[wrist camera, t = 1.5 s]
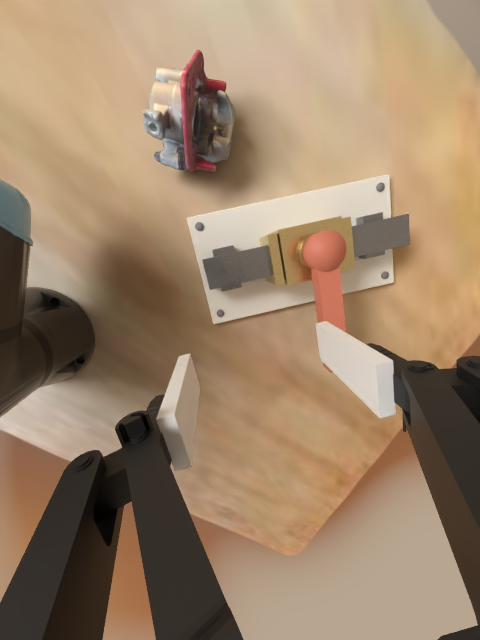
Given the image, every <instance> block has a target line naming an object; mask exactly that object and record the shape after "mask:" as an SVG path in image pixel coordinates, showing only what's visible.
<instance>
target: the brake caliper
mask: <svg viewBox="0 0 480 640" xmlns="http://www.w3.org/2000/svg"><path fill="white" fill-rule="evenodd" d="M156 79H157V80H158V81H157V82H155V83H154V84H153V86H152V88H151V92H150V99H149V106H150V109H145V110H144V111H143V112H142V114H143V115H144V116H145V118H144V128H145V130H146V132H147V133H148V134H150V135H151V136H153V137H155V138H157V139H160V140H163V146H164V150H163V151H160V152H156V153H155V154H154V158H155V159H156V160H157V161H159V162H160V163H161V164H163V165H165V166H170V167H172V168H175V169H178V170H185V171H188V172H193V171H196V170H205V171H208V172H215V171H216V165H215V164H214V163H218V162H219V161H221V160H227V159H228V158H229V157H230V152H231V140H232V132H233V127H234V122H235V116H236V113H235V110H234V107H233V105H232V104H231V102H230V100H229V97H228V96H227V94H226V93H225V90H226V83H225V82H224V81H219V80H212V79H208V78H207V77H206V75H205V72H204V59H203V54H202V52H201V51H200V50H197V51H196V52H195V54H194V55H193V57H192V58H191V60H190V62H189V63H188V64H187V65H186V67H185V68H184V70H179V69H174V68H163V67H159V68H157V70H156ZM213 162H214V163H213Z"/></svg>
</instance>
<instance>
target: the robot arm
mask: <svg viewBox="0 0 480 640" xmlns="http://www.w3.org/2000/svg"><path fill="white" fill-rule="evenodd" d="M30 232H31V208H30V205H29V202H28V201H27V199H26V198H25V196H24V195H23V194H22V193H21V192H20V191H19V190H17V189H16V188H14V187H13V186H11V185H10V184H8V183H6V182H4V181H3V180H1V179H0V417H1V416H2V415H4V414H5V413H6V412H8V411H9V410H10V409H11V408H13V407H14V406H15V405H17V404H18V403H19V402H21V401H22V400H23V399H25V398H26V397H27V396H28V395H30V394H31V393H32V392H34V391H35V390H36V389H38V388H39V387H43V386H46V385H50V384H53V383H56V382H60V381H63V380H66V379H68V378H70V377H72V376H74V375H75V374H77V373H78V372H79V371H81V370H82V369H83V368H84V367H85V366H86V365H87V363H88V362H89V360H90V359H91V357H92V354H93V351H94V346H95V336H94V331H93V327H92V325H91V322H90V320H89V318H88V317H87V315H86V314H85V312H84V311H83V310H82V309H81V308H80V307H79V306H78V305H77V304H76V303H75V302H74V301H72V300H71V299H70V298H68V297H66V296H65V295H63V294H61V293H58V292H56V291H53V290H50V289H45V288H38V287H28V288H26V286H27V276H28V266H29V255H30V246H33V241H32V239H31V238H30ZM316 332H317V339H318V346H319V353H320V360H321V361H322V362H323V363H324V364H325V365H326V366H327V367H328V368H329V369H330V370H331V371H333V372H334V373H335V374H336V375H337V376H338V377H339V378H340V379H341V380H342V381H343V382H344V383H345V384H346V385H347V386H348V387H349V388H350V389H351V390H352V391H353V392H354V393H355V394H356V395H357V396H358V397H359V398H360V399H361V400H362V401H363V402H364V403H365V404H366V405H367V406H368V407H369V408H370V409H371V410H372V411H373V412H374V413H375V414H376V415H377V416H378V417H379V418H384V417H387V416H391V415H395V414H396V408H395V403H396V404H397V405H399V406H400V407H401V408H402V410H403V431H405V432H406V428H407V430H408V433H409V435H410V438H411V441H412V443H413V446H414V449H415V451H416V454H417V457H418V459H419V462H420V465H421V468H422V471H423V473H424V476H425V479H426V481H427V484H428V487H429V489H430V492H431V495H432V498H433V500H434V503H435V505H436V508H437V511H438V514H439V517H440V519H441V522H442V525H443V527H444V530H445V533H446V535H447V538H448V541H449V543H450V546H451V549H452V552H453V554H454V557H455V560H456V562H457V565H458V568H459V571H460V573H461V576H462V579H463V581H464V584H465V587H466V589H467V592H468V595H469V598H470V600H471V603H472V606H473V609H474V612H475V615H476V619H477V623H478V626H474V627H471V628H467V629H464V630H461V631H458V632H454V633H450V634H447V635H443V636H441V637H440V638H439V639H438V640H480V356H477V357H476V356H468V357H462V358H459V359H458V360H457V368H452V369H438V368H437V367H436V366H435V365H434V364H431V363H429V362H425V361H415V360H414V361H407V360H405V359H403V358H401V357H399V356H398V355H396V354H394V353H392V352H390V351H389V350H387V349H385V348H383V347H381V346H379V345H375V344H371V343H370V344H364V343H363V342H361V341H359V340H357V339H356V338H354V337H352V336H351V335H349V334H347V333H346V332H344V331H342V330H340V329H339V328H337V327H335V326H334V325H332V324H330V323H329V322H327V321H324V322H320V323H316ZM200 389H201V388H200V385H199V382H198V378H197V375H196V371H195V368H194V365H193V361H192V358H191V354H185V355H181V356H179V358H178V360H177V363H176V366H175V369H174V371H173V374H172V377H171V380H170V382H169V385H168V388H167V391H166V393H165V394H164V395H160V396H156V397H155V398H154V399H153V400H152V401H151V402H150V403H149V406H148V408H147V410H146V411H137V412H134V413H131V414H129V415H127V416H126V417H124V418H123V419H121V420H120V421H119V422H118V424H117V425H116V427H115V431H116V433H117V435H118V438H119V440H120V443H121V445H122V448H121V449H119V450H118V451H116V452H113V453H111V454H109V455H107V456H105V457H103V455H102V453H101V452H100V451H99V450H93V451H89V452H86V453H84V454H81V455H80V456H78V457H77V458H75V459H74V460H73V461H72V462H71V463H70V464H69V465H68V466H67V467H66V469H65V470H64V472H63V474H62V476H61V479H60V481H59V483H58V485H57V487H56V489H55V491H54V493H53V495H52V497H51V499H50V501H49V503H48V505H47V507H46V510H45V512H44V514H43V516H42V518H41V520H40V522H39V524H38V526H37V528H36V531H35V532H34V535H33V537H32V539H31V541H30V543H29V545H28V547H27V549H26V551H25V553H24V555H23V557H22V559H21V561H20V563H19V565H18V567H17V570H16V572H15V574H14V576H13V578H12V580H11V582H10V584H9V586H8V588H7V590H6V592H5V594H4V596H3V599H2V601H1V603H0V640H102V638H103V632H104V626H105V619H106V613H107V607H108V600H109V595H110V589H111V582H112V576H113V570H114V563H115V558H116V551H117V545H118V539H119V533H120V527H121V521H122V514H123V508H124V505H125V504H127V503H129V502H131V501H132V505H133V511H134V516H135V522H136V528H137V534H138V539H139V545H140V551H141V557H142V562H143V568H144V574H145V579H146V585H147V591H148V596H149V602H150V608H151V613H152V619H153V625H154V630H155V636H156V640H243V638H242V636H241V633H240V630H239V628H238V626H237V623H236V621H235V619H234V616H233V614H232V612H231V610H230V608H229V606H228V604H227V602H226V600H225V597H224V595H223V593H222V591H221V588H220V585H219V583H218V581H217V578H216V576H215V573H214V571H213V569H212V566H211V564H210V562H209V559H208V557H207V554H206V552H205V550H204V547H203V545H202V542H201V540H200V538H199V535H198V533H197V531H196V528H195V526H194V523H193V521H192V518H191V516H190V514H189V511H188V509H187V506H186V504H185V502H184V499H183V497H182V494H181V492H180V490H179V487H178V485H177V482H176V480H175V478H174V475H173V473H172V470H171V468H170V465H171V462H172V464H173V467H174V470H175V471H176V470H180V469H184V468H188V467H192V460H193V451H194V443H195V434H196V425H197V416H198V407H199V398H200Z"/></svg>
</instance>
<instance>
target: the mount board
mask: <svg viewBox="0 0 480 640" xmlns="http://www.w3.org/2000/svg"><path fill="white" fill-rule="evenodd" d="M381 212H383V219H387V218H391V203H390V179H389V174H387V175H383V176H378V177H373V178H369V179H364V180H359V181H355V182H350V183H345V184H341V185H336V186H332V187H327V188H322V189H318V190H313V191H308V192H304V193H299V194H294V195H290V196H285V197H280V198H276V199H271V200H267V201H262V202H257V203H253V204H248V205H243V206H239V207H234V208H229V209H225V210H220V211H215V212H211V213H206V214H202V215H197V216H192V217H188V218H187V222H188V226H189V230H190V234H191V238H192V242H193V246H194V250H195V254H196V258H197V262H198V265H199V269H200V273H201V277H202V281H203V285H204V289H205V293H206V297H207V301H208V305H209V309H210V313H211V317H212V321H213V324H217V323H221V322H225V321H230V320H234V319H238V318H243V317H247V316H251V315H256V314H260V313H264V312H268V311H273V310H277V309H281V308H286V307H290V306H294V305H299V304H303V303H307V302H311V301H315V296H314V289H313V281H312V280H311V281H306V282H302V283H298V284H293V285H289V286H287V285H285V284H281V285H274V284H272V283H270V282H268V281H267V279H266V277H265V278H260V279H256V280H252V281H247V282H243V283H241V285H242V287H240V288H236V289H231V290H227V291H223V292H222V290H221V288H216V289H212V290H210V289H209V285H208V281H207V277H206V273H205V269H204V265H203V261H202V260H203V259H207V258H212V257H214V256H213V252H212V250H213V249H218V248H222V247H227V246H232V245H233V247H234V252H239V251H243V250H248V249H252V248H257V247H261V246H260V241H259V238H261V237H263V236H266V235H268V234H269V233H272V232H274V231H277V230H280V229H284V228H289V227H293V226H298V225H302V224H307V223H311V222H316V221H320V220H325V219H329V218H334V217H339V216H342V218H346V217H351V224H352V226H356V218H359V217H363V216H367V215H372V214H376V213H381ZM354 260H355V268H351V269H346V270H347V272H346V273H341V274H340V276H341V286H342V294H346V293H350V292H354V291H359V290H363V289H367V288H372V287H376V286H380V285H385V284H389V283H393V282H394V274H393V250H392V249H388V250H385V255H381V256H376V257H372V258H367V259H359V256H357V257H354Z"/></svg>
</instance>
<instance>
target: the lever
mask: <svg viewBox="0 0 480 640" xmlns="http://www.w3.org/2000/svg"><path fill="white" fill-rule="evenodd" d="M345 255H346V243H345V240H344V238H343V237H342V236H341V235H340V234H339V233H338V232H336V231H332V230H326V231H321V232H317V233H314V234H311V235H310V236H309V237H307V238H306V240H305V241H304V243H303V245H302V248H301V257H302V260H303V262H304V264H305V265H306V266H307V267H308V268H310V269H311V273H312V281H313V289H314V296H315V304H316V311H317V319H318V323H320V322H324V321H327V322H329V323H330V324H332V325H334V326H335V327H337V328H339V329H340V330H342V331H344V332H346V325H345V315H344V306H343V296H342V286H341V276H340V266H339V265H340V264H341V263H342V262H343V260H344V258H345ZM323 364H324V363H323ZM324 366H325V367H326V368H327V370H328V371H329V372H333V371H331V370H330V369H329V368H328V367H327V366H326V365H325V364H324Z"/></svg>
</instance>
